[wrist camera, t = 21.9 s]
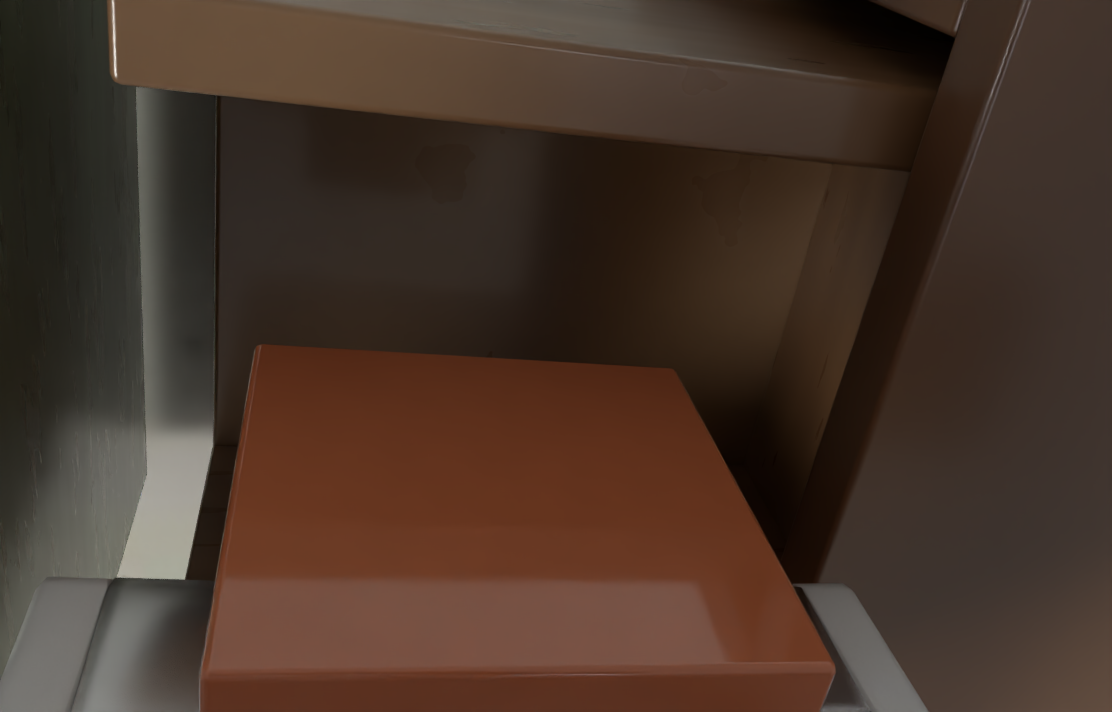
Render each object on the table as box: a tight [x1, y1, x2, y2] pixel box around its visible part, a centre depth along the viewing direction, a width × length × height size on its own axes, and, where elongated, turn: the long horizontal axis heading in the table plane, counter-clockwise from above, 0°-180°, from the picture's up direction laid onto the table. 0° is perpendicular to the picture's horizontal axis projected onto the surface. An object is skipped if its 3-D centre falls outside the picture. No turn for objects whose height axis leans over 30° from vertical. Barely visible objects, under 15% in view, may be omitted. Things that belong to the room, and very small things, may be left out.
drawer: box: [0, 0, 955, 680], centre depth 14 cm, size 18×11×9 cm, turn 81°
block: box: [199, 344, 836, 712], centre depth 9 cm, size 4×4×4 cm
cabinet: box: [780, 0, 1112, 712], centre depth 17 cm, size 15×13×11 cm
